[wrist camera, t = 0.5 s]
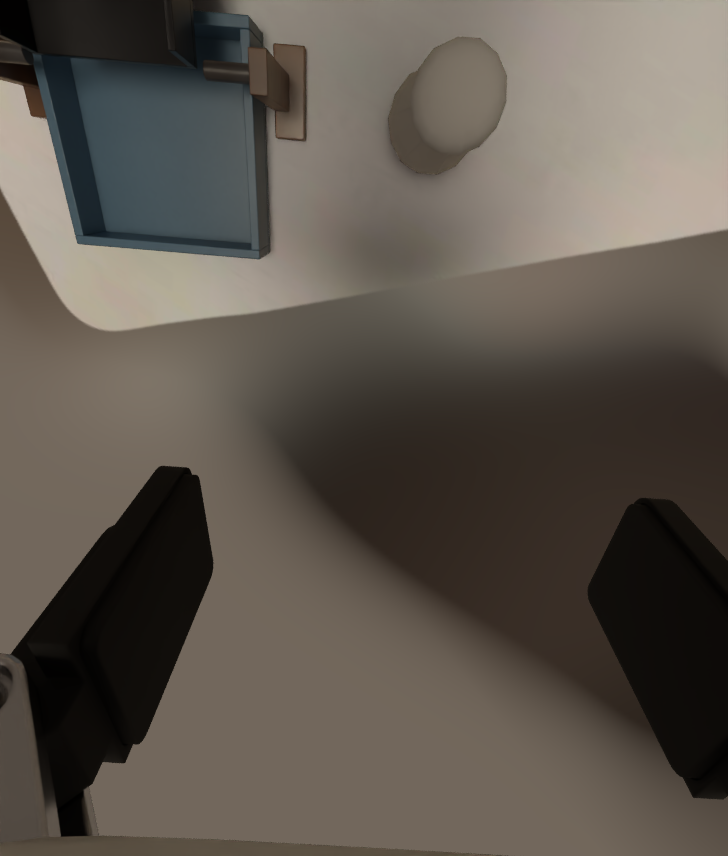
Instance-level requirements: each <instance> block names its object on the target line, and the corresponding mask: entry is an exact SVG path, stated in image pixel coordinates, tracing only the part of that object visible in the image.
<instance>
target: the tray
mask: <svg viewBox="0 0 728 856" xmlns="http://www.w3.org/2000/svg"><path fill="white" fill-rule="evenodd" d="M193 16H194V29H195V43H196V56H197V69H188V68H177V67H166V66H155V65H144V64H134V63H123V62H112V61H101V60H90V59H79V58H68V57H57V56H46V55H36V54H34V53H33V57H34V63H33V64H34V68H35V72H36V77H37V81H38V85H39V89H40V93H41V97H42V101H43V105H44V109H45V113H46V117H47V122H48V126H49V130H50V134H51V138H52V142H53V146H54V150H55V154H56V158H57V162H58V166H59V171H60V175H61V179H62V183H63V187H64V191H65V195H66V199H67V203H68V207H69V211H70V216H71V220H72V224H73V228H74V232H75V235H76V240H77V243H78V244H84V245H96V246H108V247H120V248H132V249H144V250H156V251H167V252H179V253H191V254H203V255H215V256H227V257H238V258H250V259H261V258H262V257H263V256H265V255H266V254H268V253H269V252H270V236H269V206H268V176H267V146H266V116H265V104H264V103H262V102H261V101H259V100H258V99H256V98H255V97H253V96H252V95H250V86H249V85H247V84H236V83H225V82H214V81H207V80H206V79H205V77H204V73H203V61H204V60H215V61H226V62H237V63H248V47H257V48H263V33H262V32H261V31H260V29H259V28H258V27H257V26H256V24H255V23H254V22H253V21H252V19H251V18H250V17H249V16H248V15H239V14H229V13H218V12H207V11H196V10H193Z"/></svg>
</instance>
